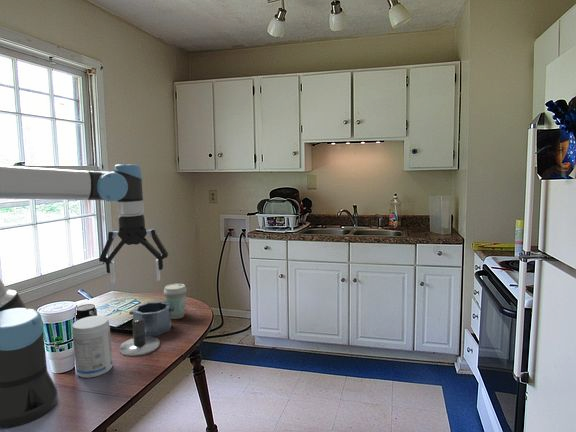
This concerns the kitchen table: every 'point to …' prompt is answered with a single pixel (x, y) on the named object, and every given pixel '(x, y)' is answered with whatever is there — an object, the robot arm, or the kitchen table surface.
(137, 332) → the lid
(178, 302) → the coffee cup
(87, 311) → the beverage can
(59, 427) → the kitchen table surface
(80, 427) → the kitchen table surface
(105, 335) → the supplement tub
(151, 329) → the pot
